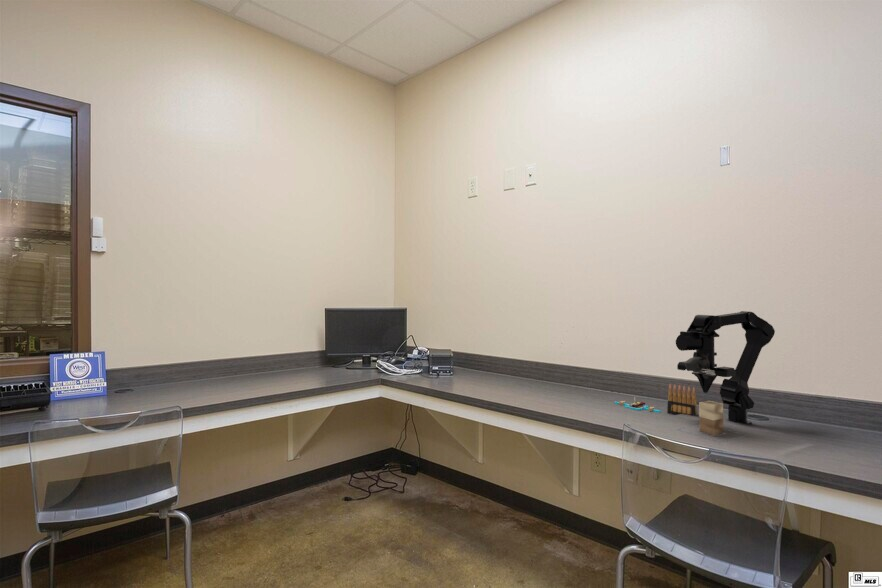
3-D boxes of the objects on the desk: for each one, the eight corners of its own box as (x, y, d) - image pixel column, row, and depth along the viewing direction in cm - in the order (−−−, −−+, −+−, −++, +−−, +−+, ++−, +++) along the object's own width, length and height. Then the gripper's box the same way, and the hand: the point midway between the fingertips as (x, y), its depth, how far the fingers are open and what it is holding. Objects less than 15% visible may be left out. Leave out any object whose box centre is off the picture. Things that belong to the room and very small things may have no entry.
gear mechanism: (622, 402, 202) (610, 405, 196) (622, 390, 202) (609, 393, 196) (666, 411, 186) (655, 415, 180) (666, 398, 186) (654, 401, 180)
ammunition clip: (697, 417, 174) (697, 386, 174) (695, 418, 173) (695, 387, 173) (669, 412, 183) (668, 382, 183) (667, 413, 181) (666, 383, 181)
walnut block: (708, 429, 156) (708, 414, 156) (723, 433, 152) (723, 418, 152) (699, 431, 154) (699, 416, 154) (713, 435, 150) (713, 420, 150)
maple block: (708, 414, 156) (708, 400, 156) (723, 418, 152) (723, 403, 152) (699, 416, 154) (699, 402, 154) (713, 420, 150) (713, 405, 150)
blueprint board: (704, 426, 164) (703, 423, 164) (750, 438, 149) (750, 435, 149) (674, 432, 157) (674, 429, 157) (719, 446, 142) (719, 443, 142)
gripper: (667, 348, 169) (667, 390, 169) (716, 354, 152) (716, 400, 152) (687, 346, 174) (687, 387, 174) (736, 352, 157) (737, 397, 157)
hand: (705, 392), depth 164 cm, fingers closed
